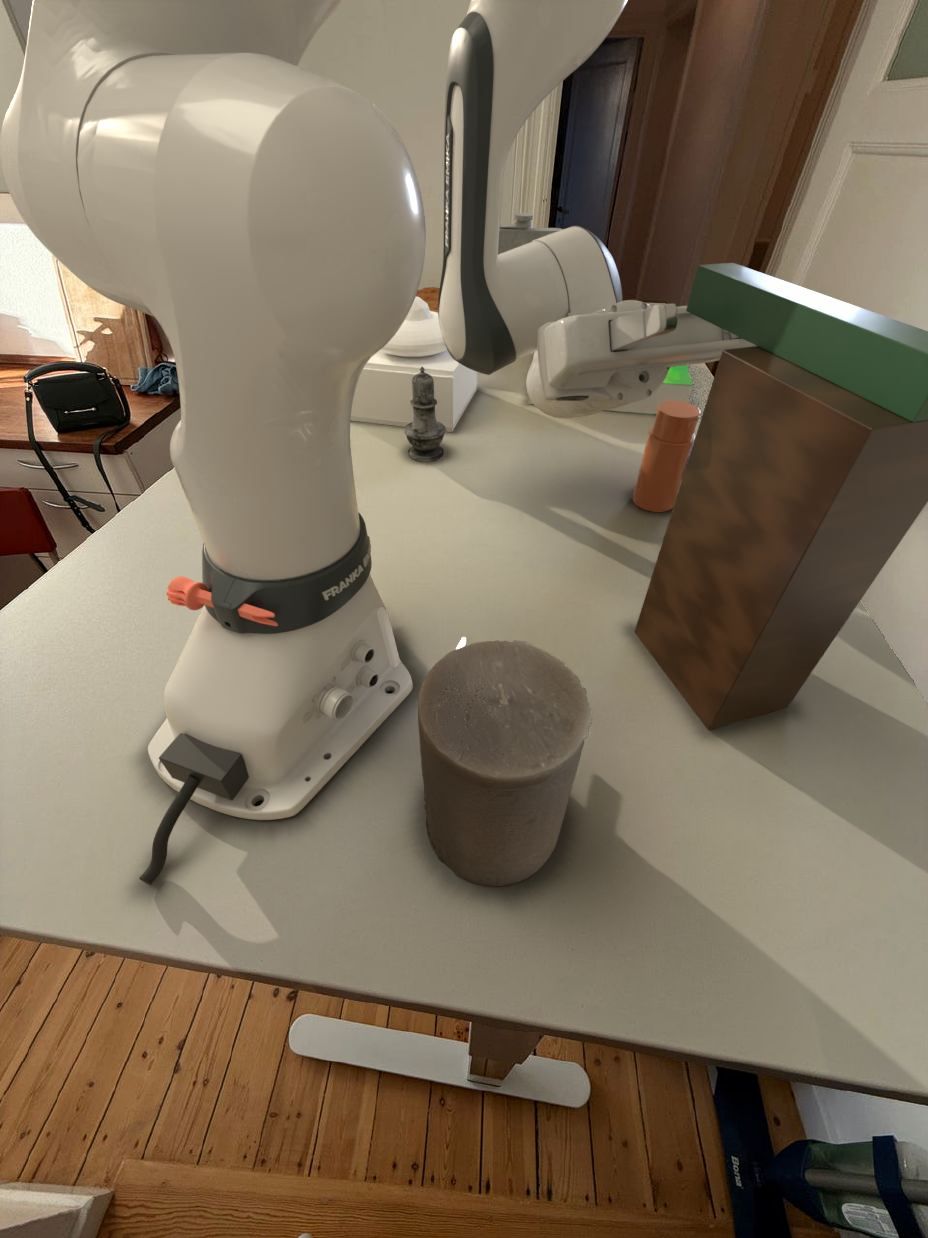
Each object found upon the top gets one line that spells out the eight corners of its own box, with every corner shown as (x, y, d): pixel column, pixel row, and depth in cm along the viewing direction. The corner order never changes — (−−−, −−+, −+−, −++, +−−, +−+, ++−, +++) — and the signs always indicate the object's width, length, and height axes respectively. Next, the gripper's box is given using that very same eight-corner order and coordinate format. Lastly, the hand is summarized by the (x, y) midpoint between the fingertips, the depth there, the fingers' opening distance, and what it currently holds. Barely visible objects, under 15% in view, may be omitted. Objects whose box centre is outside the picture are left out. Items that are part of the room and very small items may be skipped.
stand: (633, 632, 54) (722, 349, 36) (704, 615, 56) (822, 337, 38) (708, 731, 46) (872, 428, 28) (788, 707, 47) (991, 409, 29)
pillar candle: (411, 872, 37) (392, 748, 27) (441, 749, 44) (436, 612, 34) (556, 900, 36) (596, 782, 26) (564, 769, 43) (597, 634, 33)
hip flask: (552, 322, 124) (564, 212, 110) (552, 328, 121) (564, 216, 107) (481, 319, 125) (484, 210, 111) (479, 325, 122) (482, 213, 108)
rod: (685, 311, 42) (697, 264, 40) (719, 307, 42) (732, 262, 40) (912, 422, 28) (948, 361, 26) (956, 415, 29) (996, 354, 27)
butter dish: (345, 419, 87) (328, 307, 76) (383, 377, 100) (374, 276, 89) (452, 432, 84) (452, 317, 73) (478, 387, 97) (481, 284, 86)
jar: (676, 513, 69) (706, 420, 60) (633, 510, 69) (657, 416, 61) (671, 492, 72) (699, 401, 64) (631, 488, 73) (653, 397, 65)
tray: (528, 403, 92) (531, 372, 89) (540, 352, 110) (543, 324, 106) (683, 416, 89) (692, 384, 86) (670, 361, 107) (677, 333, 103)
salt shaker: (441, 464, 77) (439, 376, 69) (400, 460, 78) (393, 372, 70) (450, 445, 81) (449, 360, 73) (411, 441, 82) (406, 356, 74)
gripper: (715, 379, 56) (839, 344, 43) (528, 402, 51) (604, 371, 38) (713, 311, 55) (841, 253, 42) (520, 328, 50) (596, 270, 37)
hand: (725, 310), depth 40 cm, fingers open, 8 cm apart
